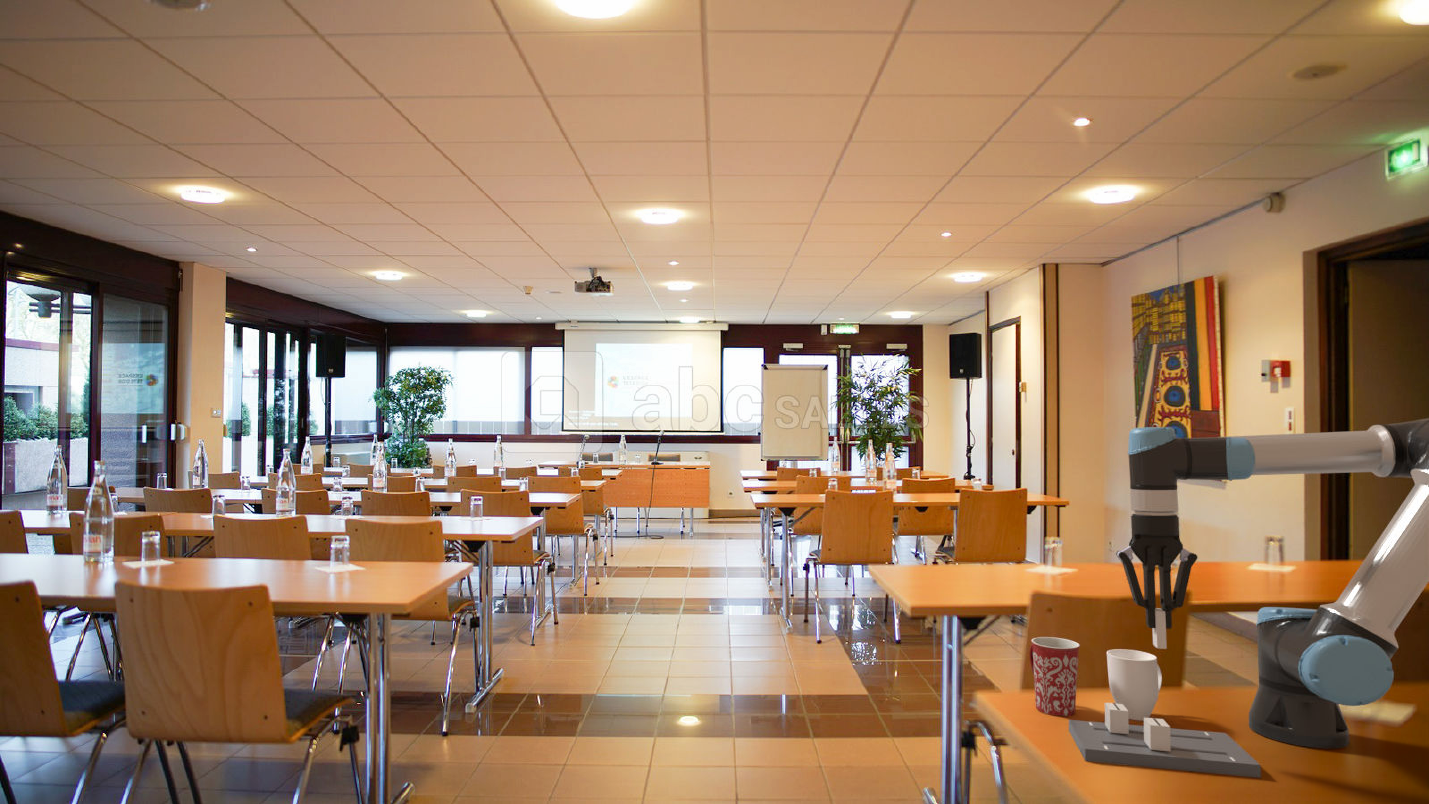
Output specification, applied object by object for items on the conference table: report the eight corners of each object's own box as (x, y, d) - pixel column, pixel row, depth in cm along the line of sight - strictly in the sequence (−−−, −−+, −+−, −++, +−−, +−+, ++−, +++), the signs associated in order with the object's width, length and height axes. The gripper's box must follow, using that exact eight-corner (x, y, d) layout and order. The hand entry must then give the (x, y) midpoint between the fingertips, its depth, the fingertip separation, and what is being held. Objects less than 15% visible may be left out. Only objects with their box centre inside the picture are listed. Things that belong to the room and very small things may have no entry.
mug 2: (1138, 726, 154) (1135, 661, 154) (1099, 713, 162) (1096, 651, 162) (1180, 717, 158) (1177, 655, 159) (1139, 705, 166) (1137, 646, 167)
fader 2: (1163, 742, 139) (1162, 718, 139) (1170, 751, 135) (1170, 726, 135) (1144, 741, 140) (1143, 716, 140) (1150, 749, 136) (1150, 724, 136)
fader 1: (1123, 726, 147) (1122, 703, 147) (1128, 734, 143) (1128, 710, 143) (1105, 725, 147) (1104, 702, 148) (1110, 732, 144) (1109, 709, 144)
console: (1225, 744, 144) (1225, 732, 145) (1260, 777, 130) (1260, 764, 130) (1068, 730, 151) (1068, 719, 151) (1085, 761, 136) (1085, 748, 136)
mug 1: (1090, 717, 158) (1089, 647, 159) (1046, 718, 157) (1046, 648, 158) (1054, 697, 171) (1054, 632, 172) (1014, 698, 170) (1013, 633, 170)
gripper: (1187, 511, 148) (1193, 643, 146) (1109, 511, 151) (1114, 640, 149) (1202, 515, 140) (1208, 653, 139) (1119, 514, 143) (1125, 650, 142)
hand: (1159, 646), depth 144 cm, fingers closed
